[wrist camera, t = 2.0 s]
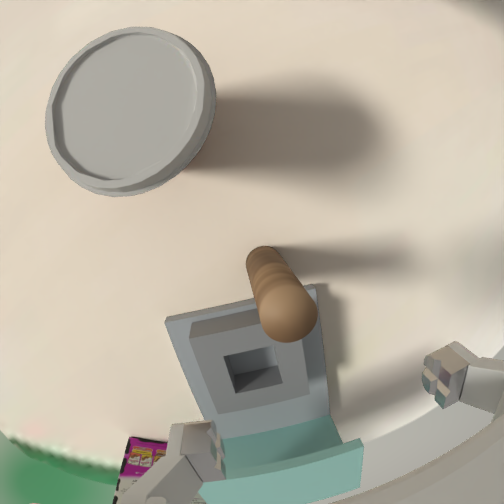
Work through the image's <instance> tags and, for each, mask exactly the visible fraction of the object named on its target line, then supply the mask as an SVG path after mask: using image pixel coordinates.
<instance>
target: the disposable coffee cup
mask: <svg viewBox="0 0 504 504" xmlns="http://www.w3.org/2000/svg"><path fill="white" fill-rule="evenodd" d="M215 108H216V89H215V83H214V78H213V75H212V72H211V70H210V67H209V65H208V63H207V62H206V60H205V59H204V57H203V56H202V54H201V53H200V52H199V51H198V50H197V49H196V48H195V47H194V46H193V45H192V44H191V43H189V42H188V41H186V40H184V39H183V38H181V37H179V36H177V35H174V34H172V33H169V32H166V31H164V30H160V29H156V28H152V27H129V28H124V29H120V30H115V31H111V32H109V33H107V34H105V35H103V36H101V37H99V38H97V39H95V40H93V41H91V42H90V43H88V44H87V45H86V46H85V47H84V48H82V49H81V50H80V51H79V52H78V53H77V54H75V55H74V56H73V57H72V58H71V59H70V61H69V62H68V63H67V64H66V66H65V67H64V68H63V70H62V71H61V72H60V74H59V76H58V78H57V79H56V81H55V83H54V85H53V87H52V90H51V94H50V97H49V100H48V104H47V108H46V117H45V130H46V136H47V141H48V145H49V147H50V150H51V153H52V155H53V156H54V158H55V160H56V161H57V163H58V164H59V165H60V166H61V168H62V169H63V170H64V172H65V173H66V174H67V175H68V176H69V178H70V179H71V180H73V181H74V182H75V183H77V184H78V185H79V186H81V187H82V188H84V189H86V190H89V191H91V192H93V193H95V194H100V195H105V196H111V197H123V196H133V195H137V194H141V193H145V192H147V191H150V190H152V189H155V188H157V187H159V186H161V185H163V184H164V183H166V182H167V181H169V180H170V179H172V178H173V177H175V176H176V175H177V174H179V173H180V172H181V171H182V170H183V169H184V168H185V167H186V166H187V165H188V164H189V163H190V161H191V160H192V159H193V158H194V157H195V156H196V154H197V153H198V152H199V151H200V149H201V147H202V145H203V144H204V142H205V140H206V138H207V136H208V134H209V131H210V129H211V126H212V122H213V118H214V115H215Z"/></svg>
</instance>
